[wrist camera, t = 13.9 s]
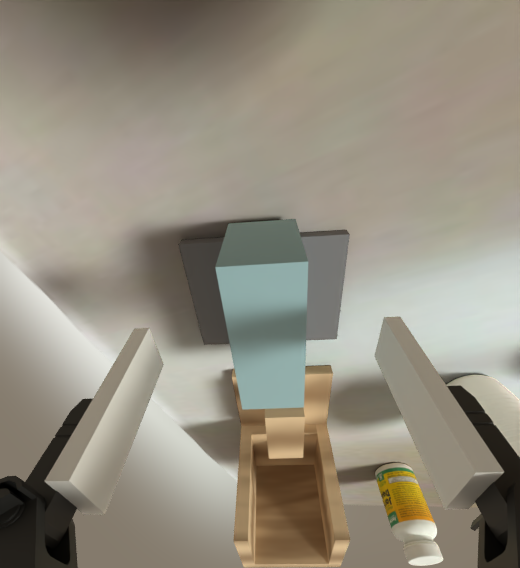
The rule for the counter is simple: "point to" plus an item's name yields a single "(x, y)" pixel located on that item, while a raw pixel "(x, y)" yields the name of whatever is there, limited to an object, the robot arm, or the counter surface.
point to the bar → (265, 310)
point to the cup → (495, 404)
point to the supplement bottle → (408, 513)
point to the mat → (320, 293)
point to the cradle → (289, 483)
